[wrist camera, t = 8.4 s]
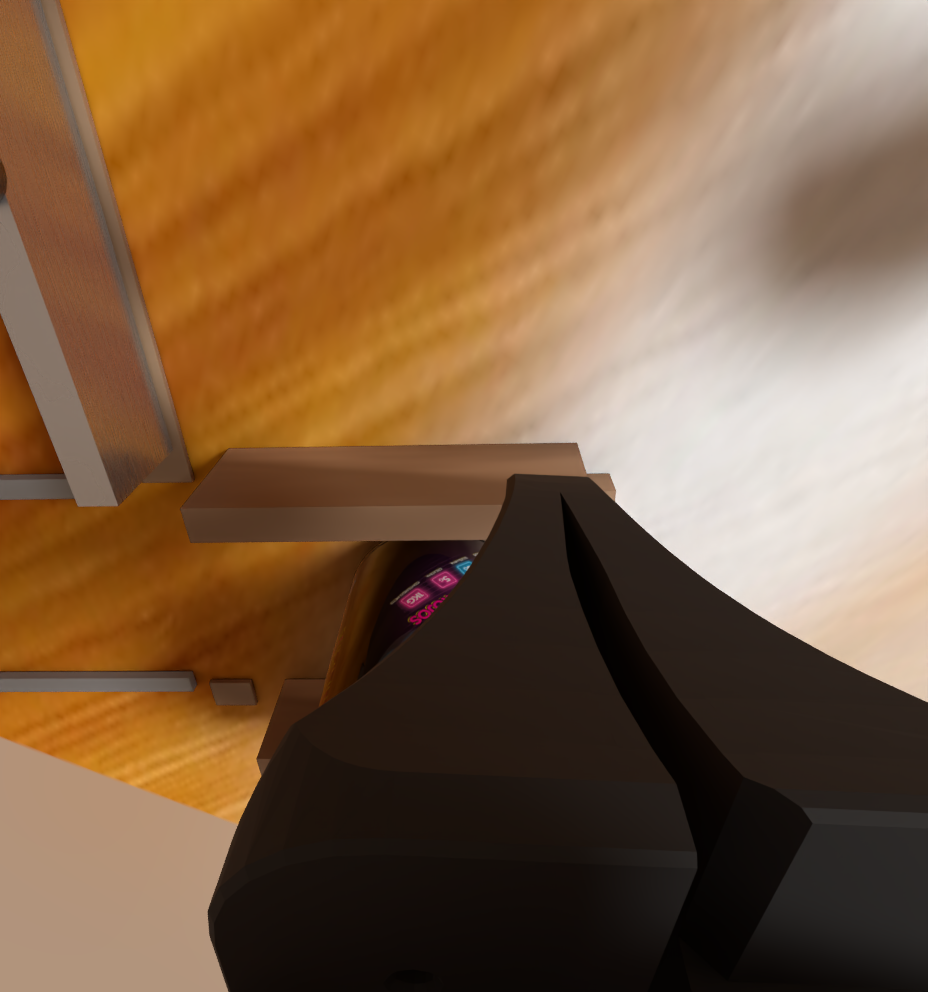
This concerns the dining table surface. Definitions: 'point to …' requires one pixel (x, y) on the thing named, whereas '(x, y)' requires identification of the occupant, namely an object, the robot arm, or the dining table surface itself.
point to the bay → (78, 681)
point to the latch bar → (67, 279)
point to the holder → (312, 462)
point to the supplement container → (393, 602)
